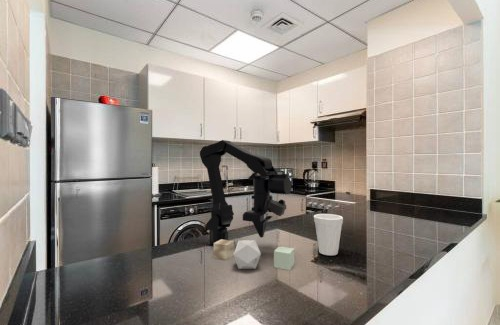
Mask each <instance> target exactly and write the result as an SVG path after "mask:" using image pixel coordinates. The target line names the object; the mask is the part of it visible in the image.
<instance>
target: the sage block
mask: <svg viewBox="0 0 500 325" xmlns="http://www.w3.org/2000/svg"><path fill="white" fill-rule="evenodd" d="M294 265H295V248H294V247H286V246H278V247H277V248H275V249H274V251H273V268H274V269H275V268H276V269H282V270H286V271H291V270H292V268H293V267H294Z"/></svg>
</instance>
